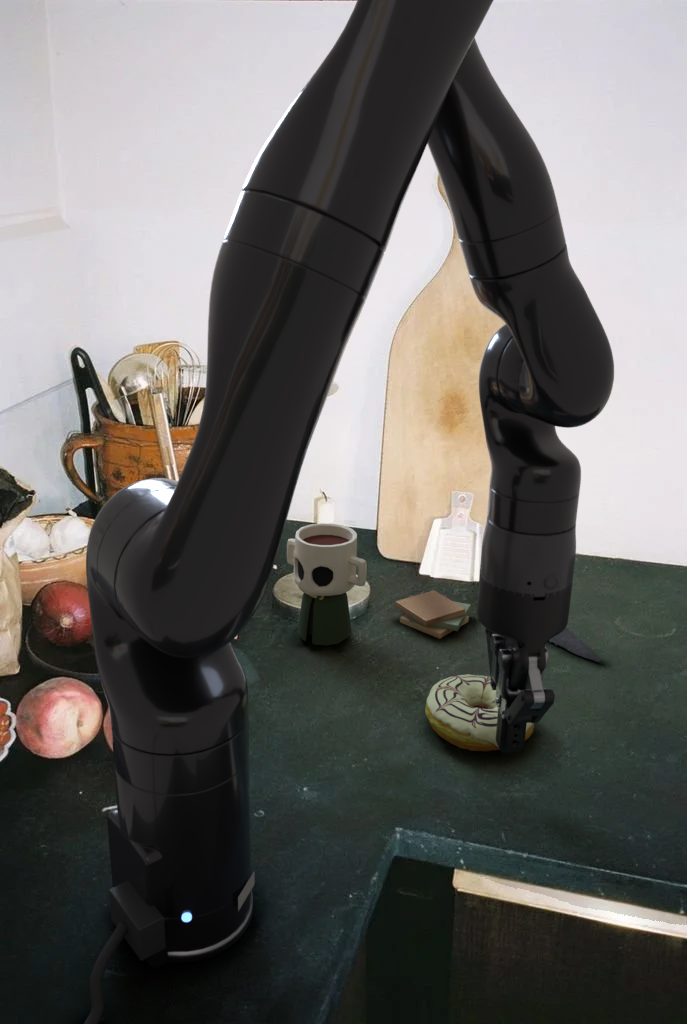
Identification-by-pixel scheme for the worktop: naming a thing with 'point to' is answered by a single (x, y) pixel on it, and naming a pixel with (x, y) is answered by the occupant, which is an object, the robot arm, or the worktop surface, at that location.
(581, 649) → the knife
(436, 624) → the coaster stack
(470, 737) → the decorated donut
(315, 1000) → the worktop surface
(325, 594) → the character mug
